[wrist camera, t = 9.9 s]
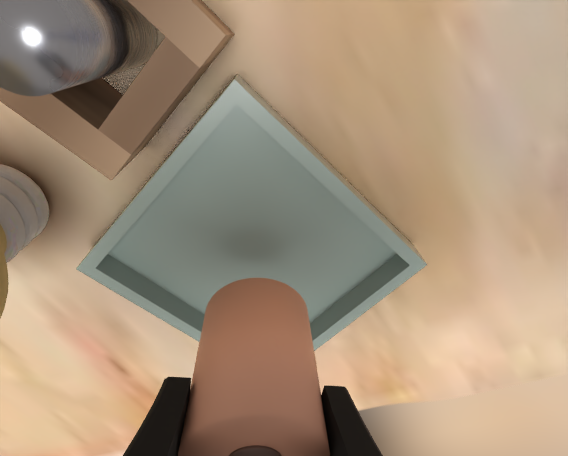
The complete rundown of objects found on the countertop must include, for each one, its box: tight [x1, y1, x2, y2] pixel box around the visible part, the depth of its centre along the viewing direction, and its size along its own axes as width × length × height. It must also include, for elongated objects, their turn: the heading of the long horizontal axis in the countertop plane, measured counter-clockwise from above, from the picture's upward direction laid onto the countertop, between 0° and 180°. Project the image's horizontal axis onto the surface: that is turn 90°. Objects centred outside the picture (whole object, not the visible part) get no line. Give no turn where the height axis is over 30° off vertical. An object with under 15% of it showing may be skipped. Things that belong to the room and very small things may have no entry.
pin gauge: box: [0, 0, 157, 96], centre depth 11 cm, size 2×2×7 cm
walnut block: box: [0, 0, 234, 180], centre depth 12 cm, size 6×6×4 cm
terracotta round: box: [178, 278, 330, 456], centre depth 11 cm, size 4×4×5 cm
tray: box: [77, 74, 427, 351], centre depth 18 cm, size 12×11×2 cm
